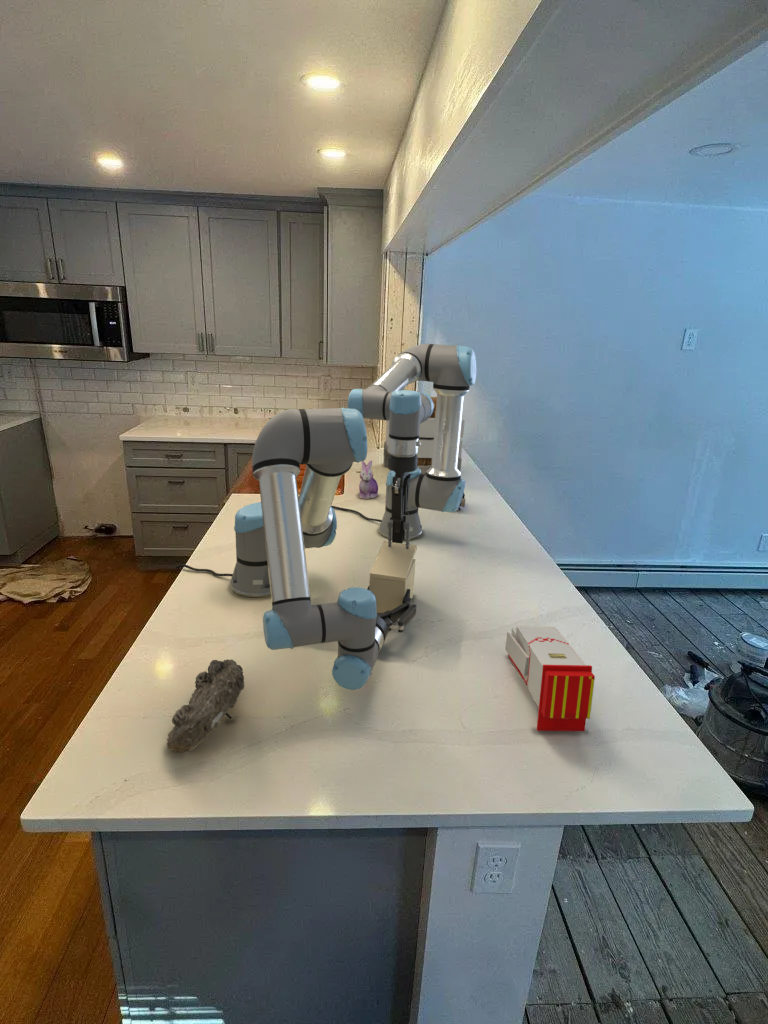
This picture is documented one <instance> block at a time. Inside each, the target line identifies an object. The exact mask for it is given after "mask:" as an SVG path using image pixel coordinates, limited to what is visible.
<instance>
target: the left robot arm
mask: <svg viewBox="0 0 768 1024" xmlns="http://www.w3.org/2000/svg"><path fill="white" fill-rule="evenodd" d="M364 419H365V418H364ZM364 419H363V416H362V414H361V413H360V412H359V411H358V410H356V409H348V407H333V408H331V407H329V408H328V407H327V408H288V409H284V410H282V411H279V412H278V413H276V414H274V415H273V416H272V417H271V418H270V419H269V420H268V421H267V422H266V423H265V425H264V426H263V427H262V429H261V430H260V431H259V433H258V436H257V438H256V440H255V443H254V447H253V450H252V451H253V452H252V455H251V468H252V477H253V478H254V479H255V480H256V481H257V482H258V487H259V493H260V501H259V502H253V503H250V504H247V505H244V506H243V507H240V508H239V510H237V511H236V513H235V515H234V527H233V529H234V533H235V555H236V562H235V565H234V569H233V571H232V573H218V572H216V571H214V570H212V569H209V568H195V567H193V566H190V565H188V564H185V563H181V564H178V565H176V567H175V568H176V569H180V568H181V567H182V568H187V569H188V570H191V571H194V572H204V573H205V572H207V573H210V574H212V575H213V576H216V577H231V579H230V589H231V591H232V592H233V593H234V594H236V595H238V596H240V597H242V598H249V599H263V598H269V597H270V599H271V609H270V610H266V611H265V612H264V613H263V615H262V627H263V637H264V642H265V646H266V647H267V648H268V649H269V650H272V651H276V650H277V651H278V650H286V649H291V650H293V649H295V648H299V647H306V646H312V645H313V646H314V645H317V644H318V645H319V644H326V643H327V644H328V643H333V642H334V643H335V642H337V656H336V658H335V659H334V661H333V666H332V669H331V674H332V678H333V680H334V681H335V683H336V684H337V685H338V686H339V687H341V688H342V689H345V690H349V691H356V690H359V689H362V688H363V687H364V686H365V685H366V684H367V682H368V680H369V679H370V677H371V676H372V675H373V674H372V672H373V670H374V667H375V666H376V665H375V664H376V662H377V660H378V657H379V655H380V652H381V650H382V648H383V645H384V643H385V642H386V638H387V636H388V634H389V632H391V631H392V630H397V632H398V633H400V634H401V633H404V630H405V629H404V628H405V627H406V626H407V625H408V624H409V623H410V622H411V621H412V620H413V619H414V617H415V616H416V615H417V614H416V613H417V604H412V602H413V597H412V598H410V589H407V591H406V594H405V596H404V598H403V601H402V604H401V605H400V606H398V607H396V608H394V609H393V610H391V611H386V612H384V613H377V612H376V598H375V595H374V594H373V593H372V592H371V591H369V585H368V587H367V588H365V587H360V586H356V587H355V586H353V587H348V588H347V589H344V590H341V592H340V593H339V595H338V599H337V601H336V602H327V603H321V604H312V600H311V588H310V581H309V575H308V574H309V573H308V565H307V557H306V549H314V548H316V549H320V548H323V547H328V546H331V545H332V544H333V542H334V541H335V539H336V535H337V530H338V529H337V528H338V520H337V514H336V511H335V508H332V507H331V506H333V502H334V500H335V499H334V498H335V495H336V493H337V491H338V487H339V485H340V481H341V479H342V476H344V475H345V474H347V473H348V472H349V471H350V470H351V468H352V466H353V465H354V463H358V464H359V463H360V462H361V463H362V461H364V462H365V460H366V459H367V457H368V434H367V427H366V423H365V420H364ZM301 465H305V469H304V472H303V473H304V474H303V477H302V481H301V486H300V489H299V491H298V482H297V477H298V476H299V475H300V473H301ZM298 496H299V498H298ZM395 620H397V621H395Z"/></svg>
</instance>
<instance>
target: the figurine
mask: <svg viewBox="0 0 768 1024" xmlns="http://www.w3.org/2000/svg"><path fill="white" fill-rule="evenodd" d="M372 466H373V460H369V461H368V463H367V464H366V462H365V460H364V461H362V462H361V471H360V472H359V478H360V482H359V484H358V490H359V492H358V497H359V499H363V500H369V499H374V498H377V497H378V493H379V485H378V481H377V480H376V478H374V473H373V471H372Z"/></svg>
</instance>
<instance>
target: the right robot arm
mask: <svg viewBox="0 0 768 1024" xmlns="http://www.w3.org/2000/svg"><path fill="white" fill-rule="evenodd" d="M390 365H391V366H389V367H388V368H387V369H386V370H385V371H384V372H383V373H382V374H381V375H380V376H379V377H377V378H376V379H375V380H374V381H373V382H372V383H371V384H370V385H369V386H368V387H367V388H365V389H364V388H353V389H352V390H351V391H350V392H349V395H348V398H347V408H348V409H356V410H358V411H359V412H360V413H361V414H362V416H363V419H365V420H366V419H367V420H368V419H369V420H377V421H386V420H387V421H389V438H388V452H389V455H388V463H387V466H386V467H387V469H388V471H389V472H388V473H387V475H386V482H385V504H384V505H385V507H384V508H385V509H384V513H383V515H382V519H378V518H370V517H367V516H365V515H364V514H363V513H361V512H359V511H357V510H354V509H350V508H345V507H339V506H337V505H331V507H332V508H333V509H336V510H340V511H346V512H350V513H355V514H357V515H359V516H360V517H362V518H363V519H365V520H366V521H372V522H379V527H378V533H379V534H380V535H381V536H382V537H385V538H387V539H388V527H387V525H388V521H389V520H390V521H393V528H392V532H391V542H394V543H401V544H402V543H403V544H404V541H406V530H403V527H404V522H406V523H410V524H411V526H410V530H409V541H410V540H415V539H418V538H420V537H421V536H422V535H423V525H422V524H421V518H420V515H419V509H424V510H431V511H437V512H441V513H456V512H457V511H458V510H459V509H458V507H459V505H460V503H461V500H462V497H463V493H464V494H465V489H466V480H465V479H464V478H462V473H461V472H462V471H461V472H460V471H459V470H458V469H457V463H458V452H459V442H460V439H461V438H460V431H461V421H462V419H463V410H464V399H465V395H467V393H468V392H470V388H471V386H474V385H475V383H476V380H477V358H476V353H475V351H474V349H473V348H472V347H470V346H464V345H459V344H457V345H455V344H438V343H437V344H436V343H435V344H434V343H421V344H416V345H413V346H412V347H409V348H407V349H405V350H403V351H401V352H400V353H399V354H397V355H396V356H395V357H394V358H393V360H392V362H391V364H390ZM416 382H429V383H432V390H434V391H435V393H436V397H437V402H436V414H435V427H434V439H433V452H432V464H431V465H430V466H429V468H427V469H426V472H425V473H422V470H421V468H419V467H418V466H417V461H418V456H417V455H416V454H417V453H418V446H421V443H420V442H418V440H419V428H420V423H422V422H424V421H426V420H427V419H428V418H429V417H430V416H431V414H432V413H433V409H434V404H433V401H432V399H431V397H432V396H430V395H429V394H427V393H425V392H419V391H417V390H409V389H406V387H408V385H410V384H413V383H416ZM390 470H391V471H390ZM298 498H299V495H298Z"/></svg>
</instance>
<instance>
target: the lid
mask: <svg viewBox="0 0 768 1024" xmlns="http://www.w3.org/2000/svg"><path fill="white" fill-rule="evenodd" d="M410 526H411V524H410V523H406V522H404V527H403V530H406V540H405V543H404V542H403V543H402V544H401V543H394V542H392V539H391V532H392V528H393V521H390V520H389V521H388V525H387V527H388V538H387V539H388V540H387V541H386V540H384V541H383V542H382V543H381V547H380V549H379V551H378V554H377V556H376V558H375V560H374V563H373V565H372V567H371V569H370V572H369V578H370V577H374V578H381V579H388V580H395V581H402V582H406V579H407V576H408V573H409V570H410V567H411V564H412V561H413V559H415V555H416V552H417V548H418V545H417V544H411V543H410V540H409V530H410Z"/></svg>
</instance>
